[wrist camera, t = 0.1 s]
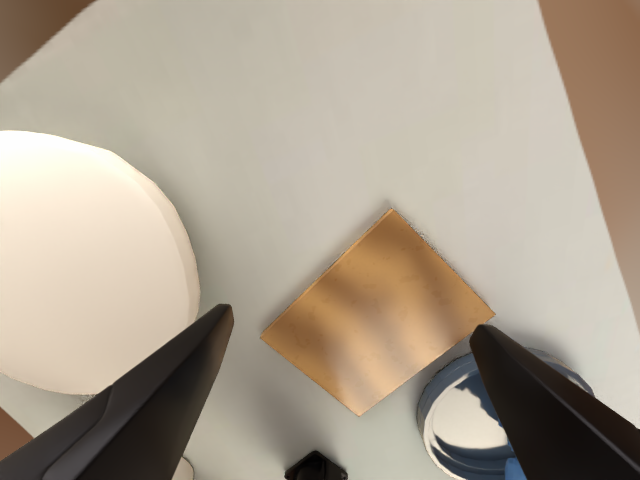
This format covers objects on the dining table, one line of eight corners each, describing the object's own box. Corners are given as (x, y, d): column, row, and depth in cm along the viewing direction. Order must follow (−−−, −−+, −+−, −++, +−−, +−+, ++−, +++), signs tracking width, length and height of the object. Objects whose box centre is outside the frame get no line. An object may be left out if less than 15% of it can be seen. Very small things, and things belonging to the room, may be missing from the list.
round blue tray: (478, 487, 32) (489, 509, 30) (384, 409, 29) (389, 427, 27) (608, 411, 28) (632, 430, 26) (515, 313, 25) (532, 326, 23)
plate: (-4, 424, 25) (-195, 185, 19) (67, 375, 31) (-60, 182, 25) (215, 400, 19) (42, 48, 13) (249, 345, 25) (140, 88, 20)
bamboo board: (357, 409, 29) (359, 417, 28) (262, 332, 27) (259, 338, 26) (489, 309, 25) (496, 314, 24) (390, 208, 23) (393, 209, 22)
